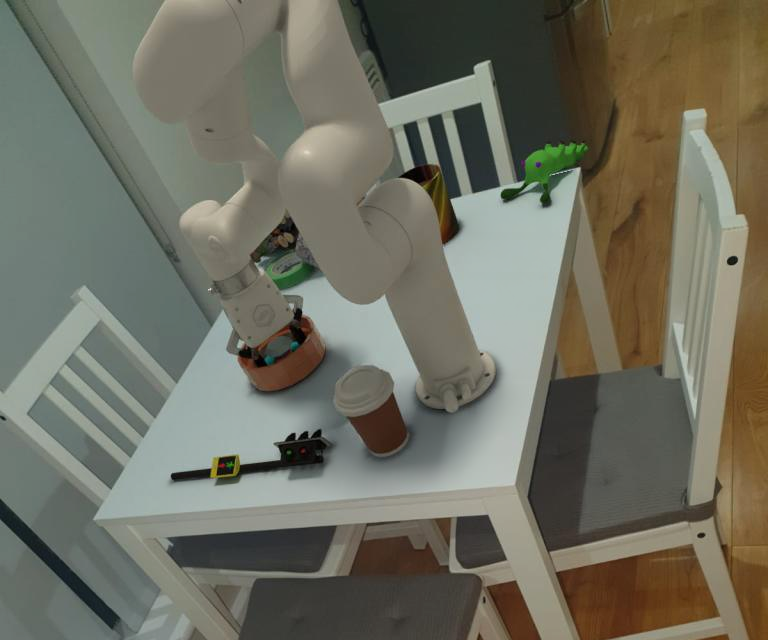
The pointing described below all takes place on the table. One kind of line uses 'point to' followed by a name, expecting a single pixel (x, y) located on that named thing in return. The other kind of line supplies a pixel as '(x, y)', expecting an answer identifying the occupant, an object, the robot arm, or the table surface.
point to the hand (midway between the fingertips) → (285, 357)
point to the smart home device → (290, 245)
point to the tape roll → (290, 276)
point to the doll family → (276, 238)
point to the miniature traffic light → (290, 456)
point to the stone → (305, 252)
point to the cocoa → (372, 409)
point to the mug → (436, 197)
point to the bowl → (286, 360)
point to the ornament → (279, 349)
